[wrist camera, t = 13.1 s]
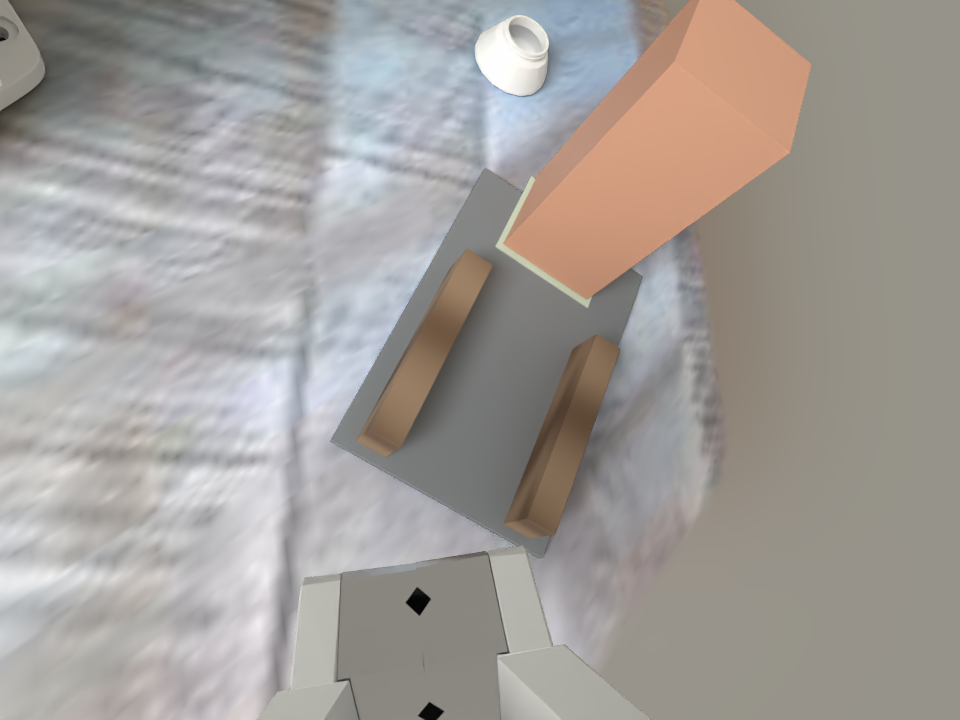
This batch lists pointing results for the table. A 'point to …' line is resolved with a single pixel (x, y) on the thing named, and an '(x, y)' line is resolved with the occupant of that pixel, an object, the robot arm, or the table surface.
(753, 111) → the block
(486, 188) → the chute mat
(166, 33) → the table surface
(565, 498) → the chute rails
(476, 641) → the robot arm
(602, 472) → the table surface
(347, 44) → the table surface
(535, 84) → the white jar
